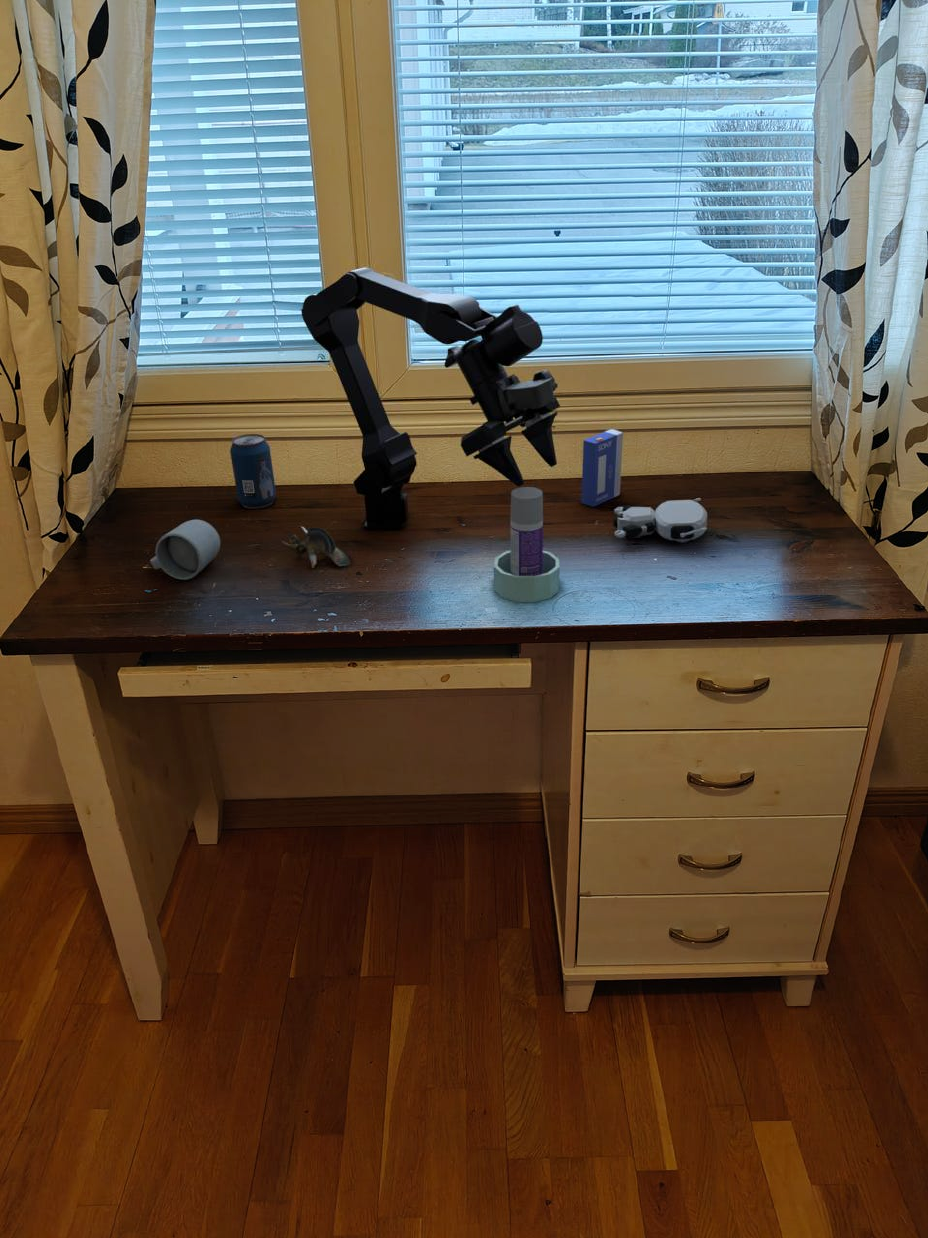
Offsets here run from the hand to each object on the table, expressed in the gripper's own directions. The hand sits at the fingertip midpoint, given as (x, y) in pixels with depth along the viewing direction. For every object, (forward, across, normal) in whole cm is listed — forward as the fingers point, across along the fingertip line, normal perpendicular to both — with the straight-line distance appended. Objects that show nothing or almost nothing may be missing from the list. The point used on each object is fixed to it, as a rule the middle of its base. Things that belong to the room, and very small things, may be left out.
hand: (538, 475), depth 141 cm
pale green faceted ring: (+14, -7, +6) cm, 17 cm away
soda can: (-19, -6, +55) cm, 58 cm away
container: (+14, -7, +6) cm, 17 cm away
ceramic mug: (-13, -31, +47) cm, 58 cm away
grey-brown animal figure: (-4, -18, +33) cm, 37 cm away
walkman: (+10, +28, +12) cm, 32 cm away
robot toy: (+19, +20, -1) cm, 27 cm away
